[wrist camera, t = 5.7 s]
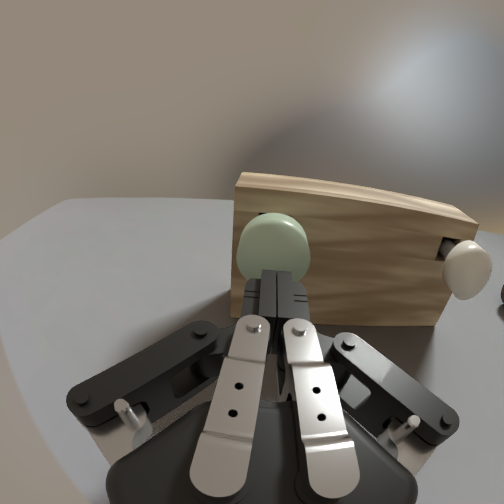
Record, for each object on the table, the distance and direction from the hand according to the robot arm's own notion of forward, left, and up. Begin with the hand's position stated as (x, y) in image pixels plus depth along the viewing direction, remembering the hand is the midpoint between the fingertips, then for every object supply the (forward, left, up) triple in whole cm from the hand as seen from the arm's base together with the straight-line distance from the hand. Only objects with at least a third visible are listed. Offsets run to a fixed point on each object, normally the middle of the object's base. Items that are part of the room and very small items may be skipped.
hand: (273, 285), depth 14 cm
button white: (-16, -5, -2) cm, 17 cm away
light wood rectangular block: (-8, -9, -9) cm, 15 cm away
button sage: (0, -5, -2) cm, 6 cm away
